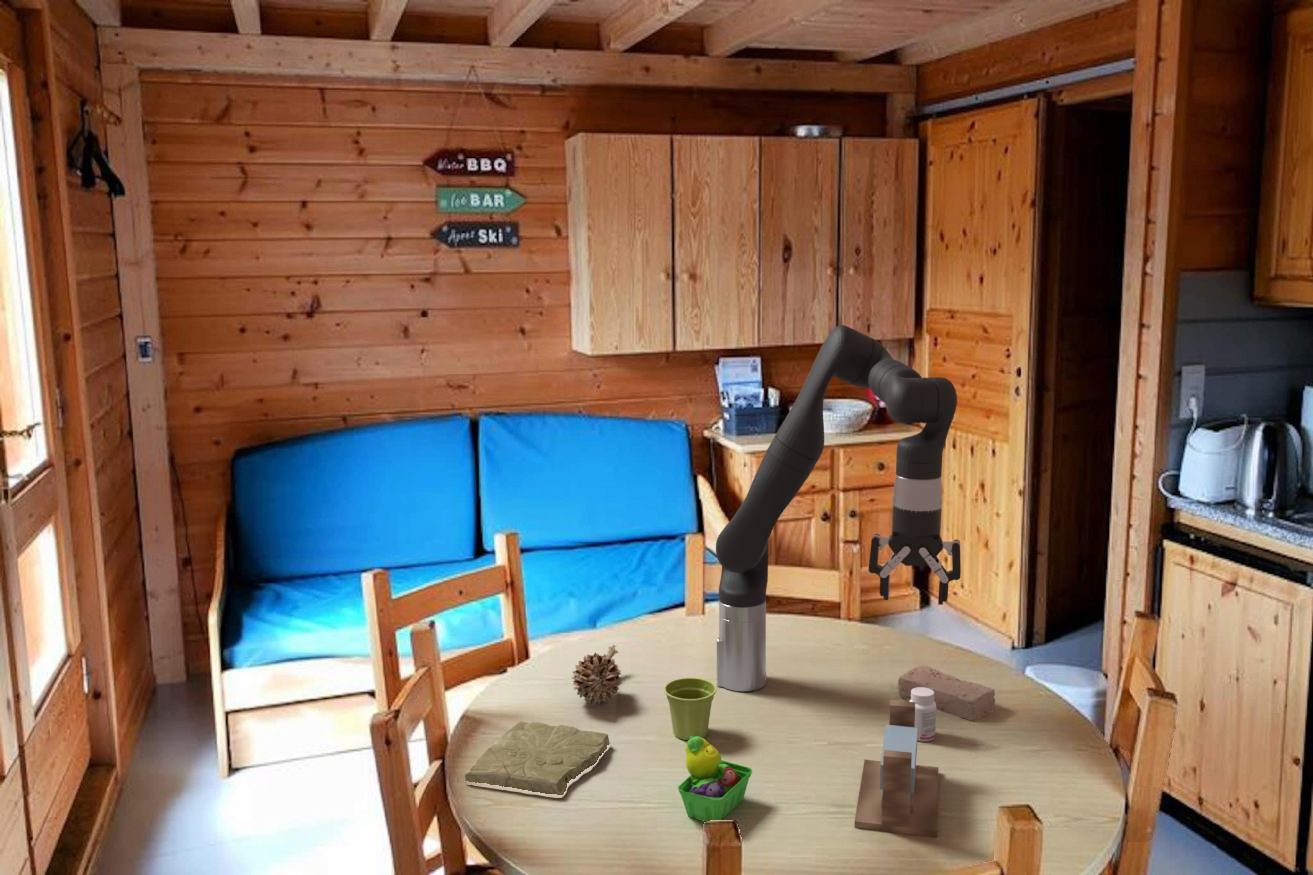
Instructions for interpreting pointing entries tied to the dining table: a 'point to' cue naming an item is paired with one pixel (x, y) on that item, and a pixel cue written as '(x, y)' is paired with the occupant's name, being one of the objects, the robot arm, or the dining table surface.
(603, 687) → the pine cone
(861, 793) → the peg stand
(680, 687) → the plant pot
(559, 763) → the decorative tile
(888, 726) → the block
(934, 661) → the dining table surface
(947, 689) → the brick
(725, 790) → the fruit basket
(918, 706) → the pill bottle
